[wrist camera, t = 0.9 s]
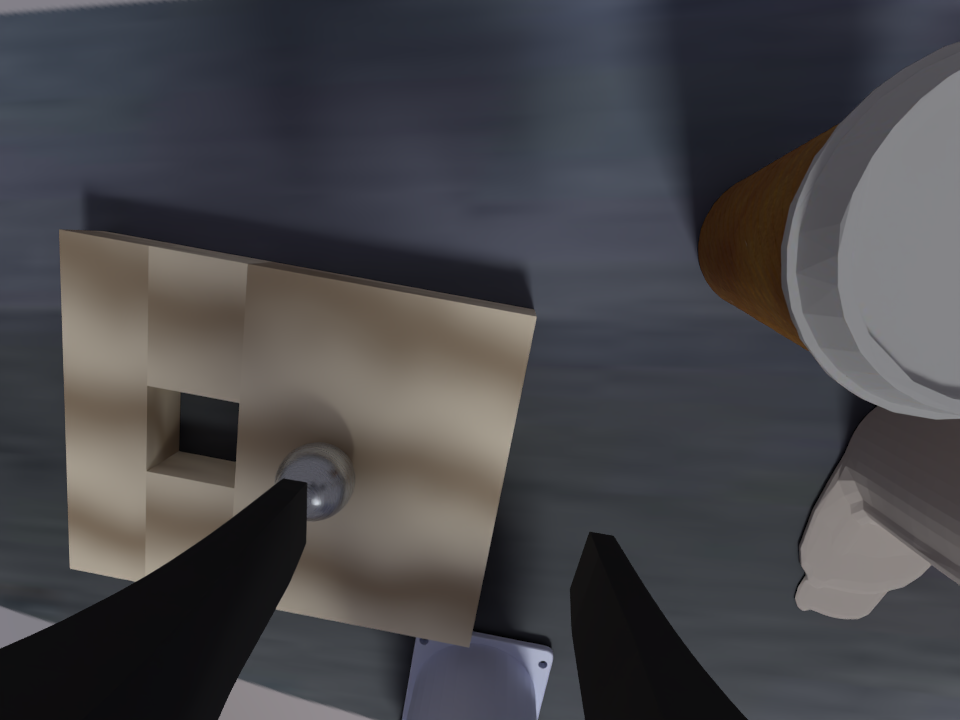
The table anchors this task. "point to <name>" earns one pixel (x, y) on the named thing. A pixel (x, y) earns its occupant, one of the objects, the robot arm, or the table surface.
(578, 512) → the table surface
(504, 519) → the table surface
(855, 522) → the beige bookend
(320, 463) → the steel ball
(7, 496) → the table surface
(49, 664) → the robot arm
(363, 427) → the birch plate
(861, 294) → the disposable coffee cup
